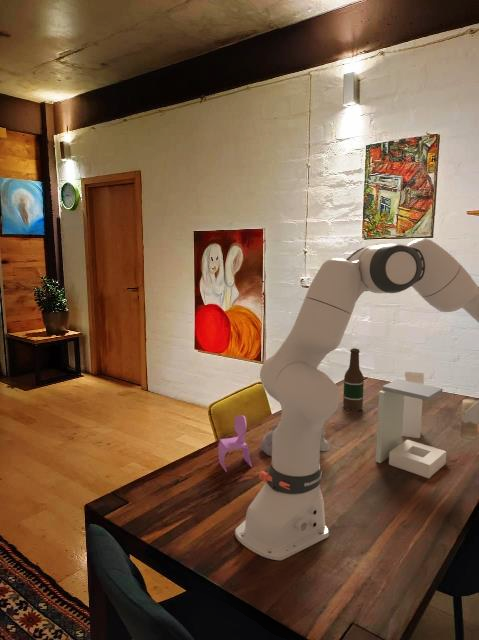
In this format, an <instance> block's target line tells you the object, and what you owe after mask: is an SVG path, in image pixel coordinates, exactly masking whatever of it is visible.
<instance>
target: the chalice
mask: <svg viewBox="0 0 479 640" xmlns="http://www.w3.org/2000/svg"><path fill="white" fill-rule="evenodd" d="M328 420H329V419H327V420H326V421H325V423H327V422H328ZM325 429H326V426H325V425H324V426H323V429H322V433H321V439H320V452H327V451H329V450H330V449H331V446H330V445H329V442H328V440H326V439H325V435H326V432H325Z"/></svg>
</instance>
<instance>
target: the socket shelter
mask: <svg viewBox="0 0 479 640" xmlns="http://www.w3.org/2000/svg"><path fill="white" fill-rule="evenodd" d="M443 390H444V389H443V387H442V388H441V387H436V386H432V385H428V384H424V385H423V384H419V383H414V382H409V381H405V379H404V380H403V379H399V378H397V379H395V380H393V381H391V382H389V383H386V384H384V385H382V390H380V391H378V406H377V425H376V444H375V445H376V447H375V448H376V449H375V462H376V463H379V464H381V463H383V462H384V461H385V460H387V459H388V466H389V465H390V466H392V467H394V468H398V469H402V470H404V471H407V472H410V473H412V474H416V475H418V476H420V477H424V478H426V479H430V478H431V477H432V476H434V474H436V473H437V472H438V471H439V470H440V469H442V467H443V466H445V465H446V461H447V460H446V459H447V451H446V450H443V449H440V448H437V447H434V446H431V445H427V444H423V443H421V442H417V441H414V440H411V439H406V440H405V441H403V436H402V428H403V411H404V395H405V396H409V397H414V398H418V399H422V400H423V401H426V402H429V401H431V400H432V399H434V398H436V397H437V396H439V395H441V394H442V393H443Z"/></svg>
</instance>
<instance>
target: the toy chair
mask: <svg viewBox="0 0 479 640" xmlns="http://www.w3.org/2000/svg"><path fill="white" fill-rule="evenodd" d="M233 428H234V431H235V432H236V434H237V436H235V437H229V438H222V439H220V438H219V442H218V445H217V446H218V447H217V451H218V452H217V454H218V455H217V456H218V462H219V465H220V466H221V467H222V469H223V470H224V471H225V473H228V470H227V468H226V464H225V458H226V454H227V453H228V452H230V451H234V450H241V449H242V454H243V459H244V461H245V462H246V463H247V464H248V465H249V467H251V468H253V465H252V464H253V463H252V462H251V459H250V449H249V448H248V444H247V443H246V442H245V438H246V437H245V436H246V434H247V433H246V432H247V419H246V416H245V415H242V414H239V415H237V416H235V418H234V427H233Z"/></svg>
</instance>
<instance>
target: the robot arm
mask: <svg viewBox="0 0 479 640" xmlns="http://www.w3.org/2000/svg"><path fill="white" fill-rule="evenodd" d="M411 287H412V288H413V289H414V290H415V291H416V292H417V293H418V295H419V296H420V297H422V298H423V300H425V302H426V303H428V305H430V306H431V307H432V308H435V309H436V310H438V311H439V312H443V313H452V312H453V313H454V312H457V311H458V310H460V309H463V310H464V311H465V313H467V314H469V315H470V316H471V317H472V318H473V319H474V320H475V321H476V322H478V323H479V286H478V284H477V283H476V282H475V280H474V279H473V278H472V276H471V275H470V273H469V272H468V271H467V270H466V269H465V268H464V267H463V265H461V263H460V262H459V261H458V260H457V259H456V258H455V257H453V256H452V255H451V254H450V253H449V252H448V251H447V250H446V249H444V248H443V247H442V246H440V245H439V244H437V243H436V242H434V241H433V240H431V239H430V238H425V237H423V238H417V239H415V240H413V241H410V242H409V243H407V244H406V245H405V244H401V243H386V244H383V243H379V244H378V243H377V244H372V245H369V246H366V247H361V248H359V249H358V250H356V251H354V252H353V253H352V254H351V255H350V256H349V257H347V258H346V259H345V258H339V257H336V258H335V257H334V258H329V259H327V260H325V261H323V263H322V264H321V265H320V268H319V269H318V271H317V272H316V274H315V275H314V278H313V279H312V281H311V283H310V285H309V287H308V290H307V292H306V294H305V297H304V299H303V303H302V304H301V307H300V310H299V311H298V314H297V317H296V319H295V322H294V325H293V326H292V328H291V330H290V332H289V334H288V335H287V336H286V339H285V340H284V341H283V343H281V345H280V347H279V348H278V350H277V351H276V353H274V354H273V355H271V356H270V357H268V358H267V359H266V360H264V362H263V364H262V365H261V368H260V372H259V378H260V382H261V384H262V386H263V387H264V390H265V392H267V394H268V395H269V396H270V397H272V398H273V399H274V400H276V402H278V403H279V404H280V407H281V408H280V409H281V415H280V421H279V423H278V424H279V426H277V427H276V428H275V429H274V431H273V434H272V456H271V462H270V465H269V467H268V472H266V471H264V470H262V471H260V473H259V476H258V477H259V478H258V479H259V480H260V481H264V482H265V483H264V485H263V486H262V487H261V489H259V492H258V493H257V494H256V495H255V497H254V499H253V500H252V501H251V503H250V504H249V506H248V507H247V509H246V515H245V519H244V520H243V521H242V522H241V523H240V524H239V525H238V526H237V527H236V528H235V529H234V531H235V532H234V535H235V538H236V539H237V540H238V542H239V543H241V545H243V546H244V547H245V548H247V549H248V550H250V551H251V552H253V553H255V554H256V555H259V556H261V557H263V558H265V559H270V560H275V561H283V560H285V559H287V558H289V557H292V556H293V555H296V554H297V553H299V552H301V551H303V550H305V549H307V548H310V547H311V546H313V545H315V544H317V543H319V542H322V541H323V540H325V539H327V538H329V536H330V530H329V528H328V526H327V525H326V516H325V515H326V512H325V500H324V496H323V493H322V490H321V486H320V485H321V482H322V476H323V475H322V467H321V466H322V465H321V464H320V455H321V451H320V439H321V433H322V429H323V426H324V427H325V423H326V422H325V421H326V420H327V419H328V420H329V419H330V418H331V417H332V416H333V415H334V414H336V411H337V410H338V408H339V405H340V401H341V395H340V394H341V393H340V389H339V388H338V386H337V384H336V383H335V382H334V381H333V380H332V379H331V378H330V377H329V376H328V374H326V373H325V372H324V371H322V370H320V369H318V368H319V365H320V364H321V362H322V361H323V360H324V358H326V356H328V354H330V353H331V352H333V351H335V350H337V348H339V347H340V344H341V342H342V339H343V337H344V335H345V332H346V330H347V327H348V324H349V322H350V319H351V316H352V314H353V311H354V309H355V306H356V304H357V301H358V299H359V298H360V297H361V295H362V294H364V293H365V292H370V293H374V294H396V293H401V292H403V291H406V290H408V289H409V288H411ZM476 401H477V402H476V403H475V404H473V405H472V406H471V407H470V408H469V409H468V410H467V411H466V412H465V414H466V415H464V416H463V417H462V416H461V419H462V420H463V422H464V423H467V422H469V421H471V422H472V423H473V424H476V423H478V424H479V399H478V400H476ZM328 420H327V421H328Z"/></svg>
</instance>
